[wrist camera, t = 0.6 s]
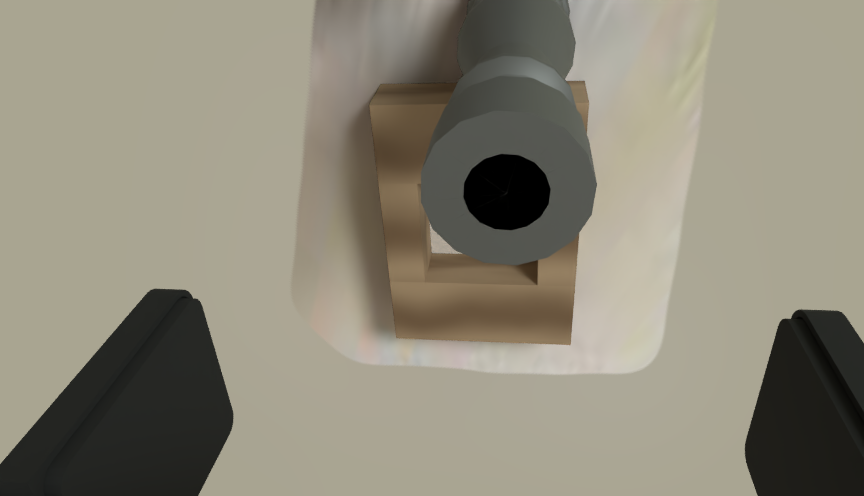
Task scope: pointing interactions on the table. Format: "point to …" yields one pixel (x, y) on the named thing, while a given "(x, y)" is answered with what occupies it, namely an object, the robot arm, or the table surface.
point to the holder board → (457, 273)
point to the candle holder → (510, 138)
